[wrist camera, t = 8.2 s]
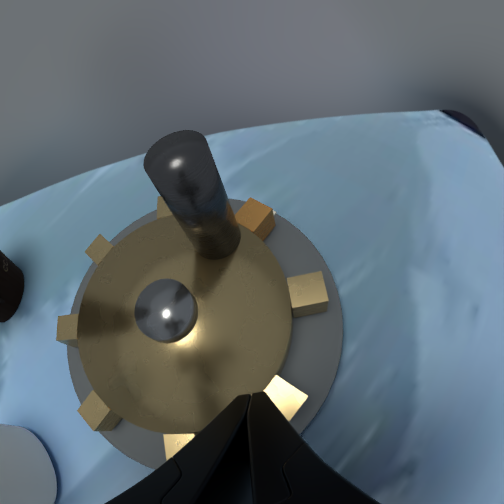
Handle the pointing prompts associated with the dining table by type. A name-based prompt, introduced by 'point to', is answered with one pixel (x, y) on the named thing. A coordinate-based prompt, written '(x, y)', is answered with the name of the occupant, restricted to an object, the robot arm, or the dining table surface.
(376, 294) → the dining table surface
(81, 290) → the sprocket base
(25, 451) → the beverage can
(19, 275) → the coffee mug
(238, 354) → the sprocket
